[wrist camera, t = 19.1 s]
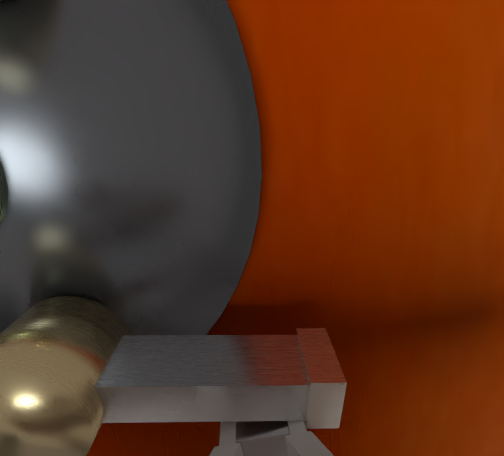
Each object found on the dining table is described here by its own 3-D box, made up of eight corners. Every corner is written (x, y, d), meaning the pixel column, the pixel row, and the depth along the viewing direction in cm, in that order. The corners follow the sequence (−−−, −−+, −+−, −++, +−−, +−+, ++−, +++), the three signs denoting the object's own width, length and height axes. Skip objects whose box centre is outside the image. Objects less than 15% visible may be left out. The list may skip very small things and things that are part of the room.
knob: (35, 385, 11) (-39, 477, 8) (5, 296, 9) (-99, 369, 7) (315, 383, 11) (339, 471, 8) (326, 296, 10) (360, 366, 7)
